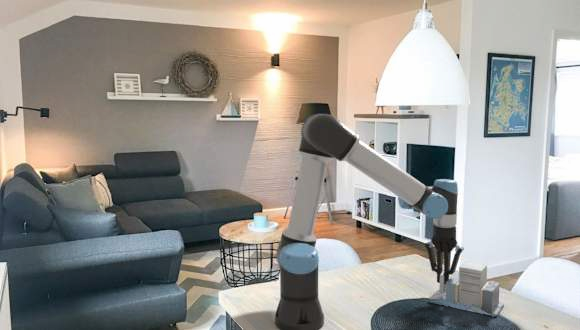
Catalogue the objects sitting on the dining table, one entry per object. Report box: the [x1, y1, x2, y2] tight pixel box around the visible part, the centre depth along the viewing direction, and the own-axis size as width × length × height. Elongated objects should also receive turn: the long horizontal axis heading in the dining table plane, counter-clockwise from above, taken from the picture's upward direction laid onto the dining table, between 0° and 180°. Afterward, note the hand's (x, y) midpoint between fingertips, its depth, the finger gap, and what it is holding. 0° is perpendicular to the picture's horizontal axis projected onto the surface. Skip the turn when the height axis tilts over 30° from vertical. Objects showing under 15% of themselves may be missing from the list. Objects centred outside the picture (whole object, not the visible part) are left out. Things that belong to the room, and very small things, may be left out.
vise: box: [428, 280, 505, 316], centre depth 161 cm, size 11×22×8 cm, turn 55°
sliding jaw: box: [446, 273, 459, 304], centre depth 163 cm, size 10×4×7 cm, turn 145°
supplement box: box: [458, 261, 488, 308], centre depth 160 cm, size 7×7×13 cm
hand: (442, 292), depth 166 cm, fingers closed
